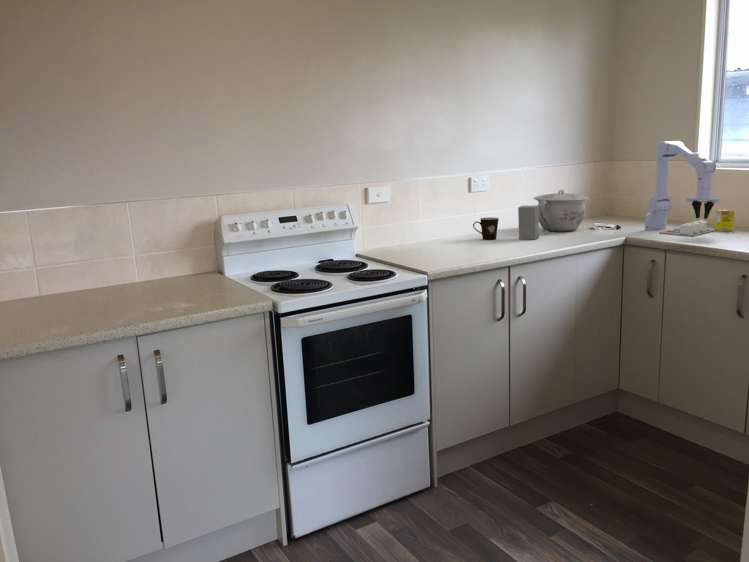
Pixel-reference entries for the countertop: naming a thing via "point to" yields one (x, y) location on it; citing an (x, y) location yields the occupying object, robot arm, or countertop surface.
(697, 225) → the beige block
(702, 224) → the tab
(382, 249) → the countertop surface
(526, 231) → the skincare box
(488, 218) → the coffee mug
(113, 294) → the countertop surface
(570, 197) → the chamber pot
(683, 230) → the tab
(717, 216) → the supplement box
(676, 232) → the switch board
